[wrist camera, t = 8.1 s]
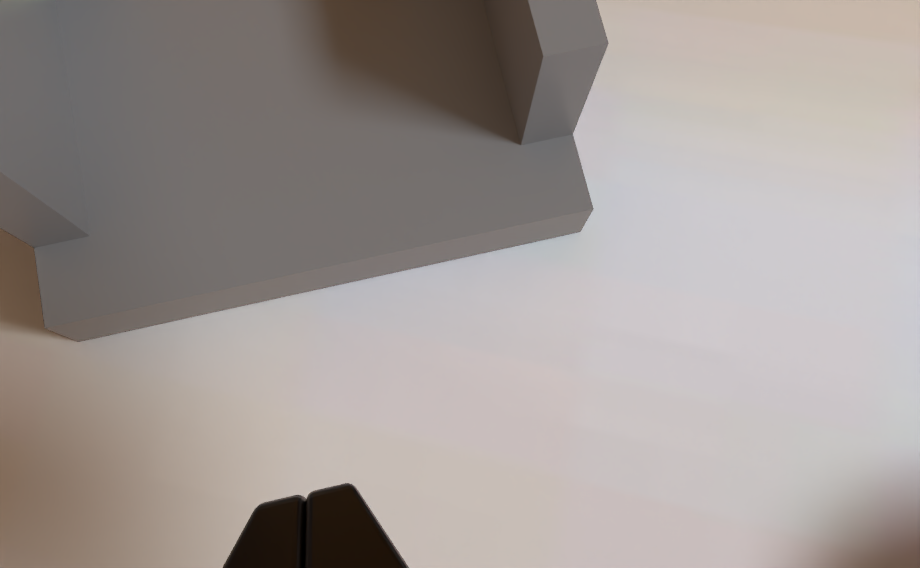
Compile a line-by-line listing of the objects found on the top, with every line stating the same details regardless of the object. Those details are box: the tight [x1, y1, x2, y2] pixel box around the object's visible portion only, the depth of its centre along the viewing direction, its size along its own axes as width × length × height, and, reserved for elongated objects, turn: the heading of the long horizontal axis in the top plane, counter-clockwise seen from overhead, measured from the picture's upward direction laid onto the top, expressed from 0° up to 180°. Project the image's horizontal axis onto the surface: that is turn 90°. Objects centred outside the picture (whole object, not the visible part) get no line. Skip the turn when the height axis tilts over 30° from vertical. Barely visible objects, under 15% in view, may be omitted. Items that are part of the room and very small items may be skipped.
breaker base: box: [0, 0, 608, 342], centre depth 16 cm, size 10×10×5 cm
